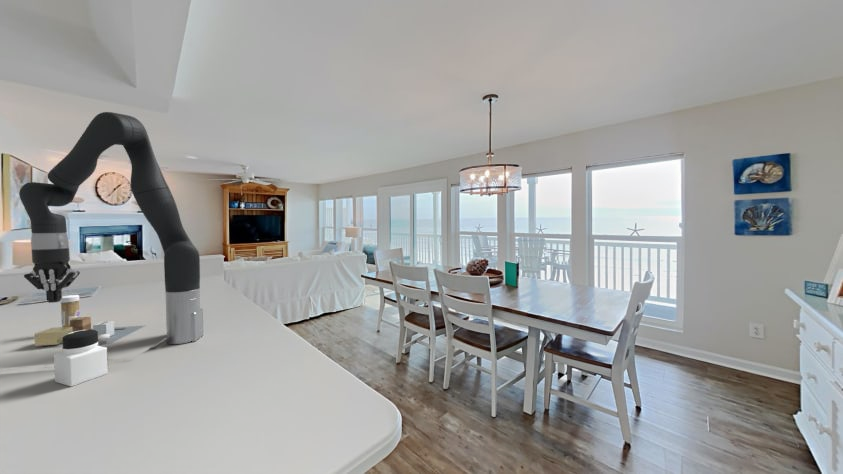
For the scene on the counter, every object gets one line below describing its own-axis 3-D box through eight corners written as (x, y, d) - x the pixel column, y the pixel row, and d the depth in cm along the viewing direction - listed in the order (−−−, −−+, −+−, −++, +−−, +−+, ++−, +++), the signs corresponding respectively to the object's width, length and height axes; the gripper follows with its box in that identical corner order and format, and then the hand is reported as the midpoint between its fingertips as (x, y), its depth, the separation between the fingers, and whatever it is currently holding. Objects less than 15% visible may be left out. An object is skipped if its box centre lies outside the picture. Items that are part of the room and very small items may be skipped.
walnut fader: (91, 329, 109) (90, 316, 109) (82, 332, 106) (82, 319, 106) (79, 329, 109) (78, 317, 108) (70, 333, 105) (69, 320, 105)
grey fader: (114, 334, 104) (113, 320, 104) (106, 337, 101) (106, 324, 101) (101, 335, 104) (101, 321, 103) (93, 338, 100) (93, 324, 100)
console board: (146, 329, 114) (146, 316, 114) (110, 348, 97) (109, 333, 97) (80, 333, 110) (79, 320, 109) (30, 354, 92) (29, 339, 92)
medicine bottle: (108, 373, 81) (107, 329, 80) (70, 387, 74) (68, 338, 73) (92, 369, 83) (91, 325, 82) (54, 382, 76) (52, 334, 76)
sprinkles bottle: (78, 333, 110) (76, 296, 109) (59, 335, 107) (57, 298, 107) (82, 329, 114) (81, 294, 113) (64, 332, 111) (63, 295, 111)
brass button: (72, 337, 100) (72, 326, 100) (57, 344, 95) (56, 332, 95) (51, 339, 99) (51, 327, 99) (34, 346, 93) (34, 333, 93)
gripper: (86, 246, 101) (89, 297, 102) (36, 247, 98) (39, 300, 99) (66, 247, 94) (69, 303, 95) (10, 249, 91) (15, 306, 91)
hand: (54, 301), depth 97 cm, fingers closed
